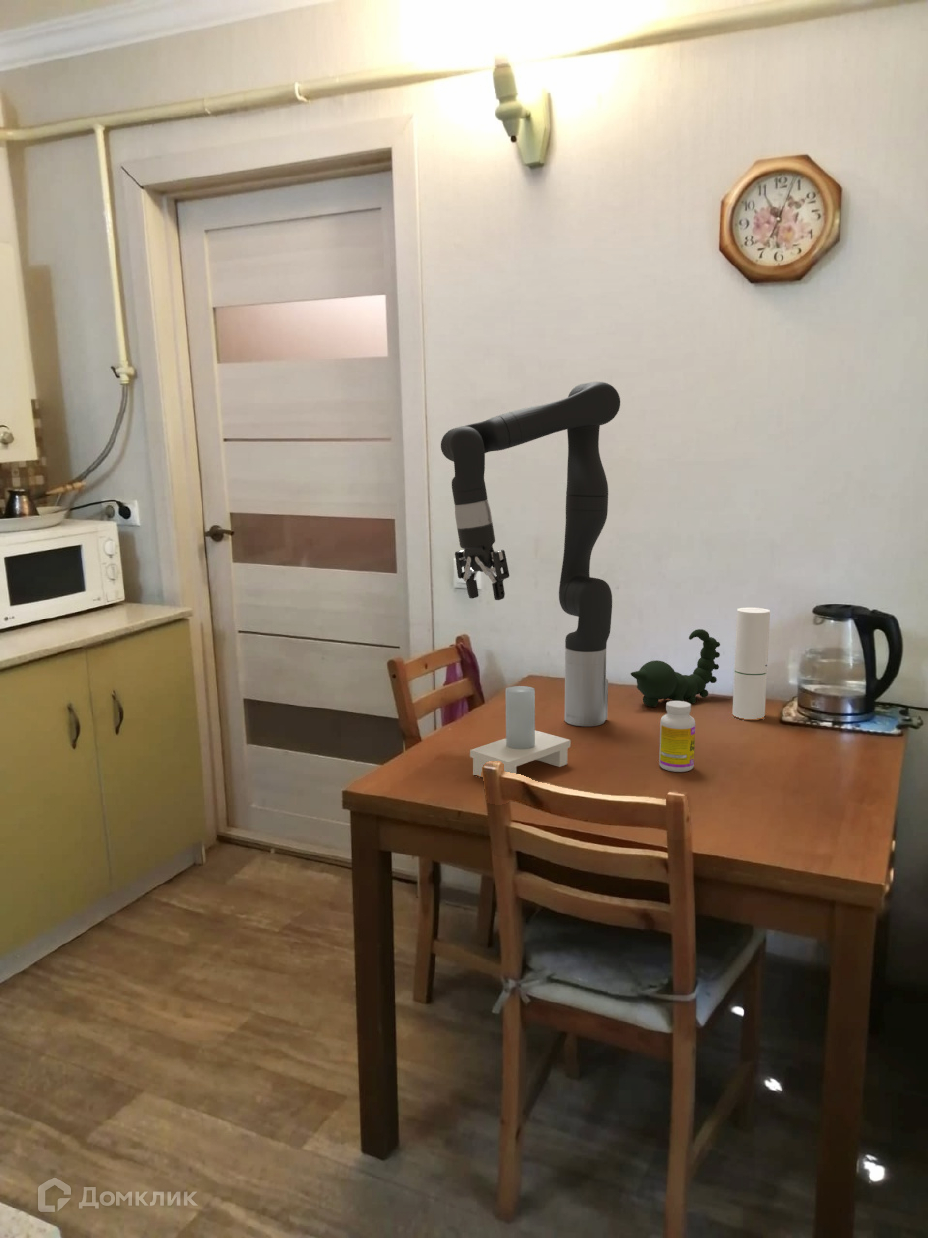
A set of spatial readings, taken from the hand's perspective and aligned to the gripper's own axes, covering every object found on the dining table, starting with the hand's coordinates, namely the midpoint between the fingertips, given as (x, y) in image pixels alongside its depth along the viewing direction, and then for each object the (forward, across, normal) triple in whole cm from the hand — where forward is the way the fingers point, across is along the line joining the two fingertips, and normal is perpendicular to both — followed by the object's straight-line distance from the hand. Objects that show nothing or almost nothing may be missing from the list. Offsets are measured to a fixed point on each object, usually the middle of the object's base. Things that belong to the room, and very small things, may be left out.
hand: (486, 598), depth 197 cm
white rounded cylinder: (+25, -19, +13) cm, 34 cm away
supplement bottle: (+35, -38, -10) cm, 52 cm away
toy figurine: (+38, -8, -46) cm, 60 cm away
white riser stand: (+30, -19, +14) cm, 38 cm away
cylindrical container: (+40, -27, -50) cm, 69 cm away
